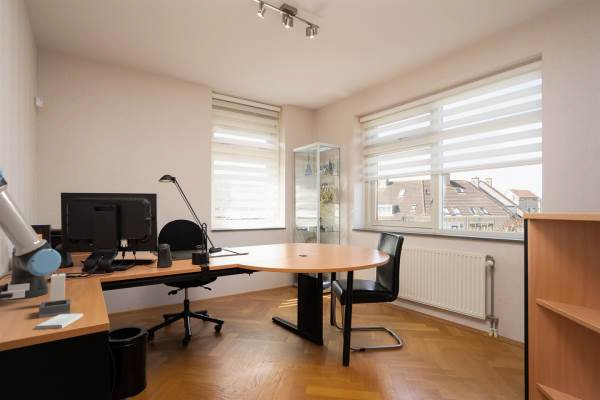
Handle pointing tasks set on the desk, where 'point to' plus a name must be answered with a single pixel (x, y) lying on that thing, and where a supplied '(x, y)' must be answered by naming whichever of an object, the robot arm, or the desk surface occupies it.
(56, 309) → the socket dock
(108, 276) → the desk surface
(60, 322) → the hard drive
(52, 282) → the block
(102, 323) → the desk surface
